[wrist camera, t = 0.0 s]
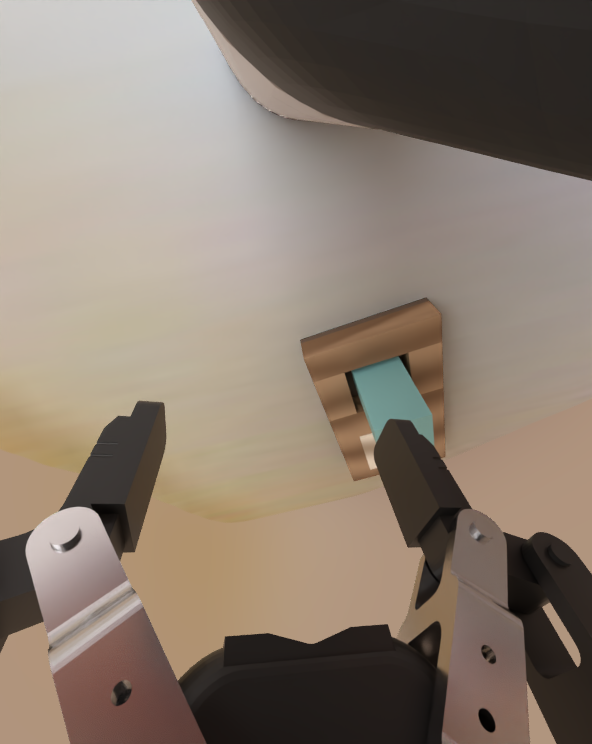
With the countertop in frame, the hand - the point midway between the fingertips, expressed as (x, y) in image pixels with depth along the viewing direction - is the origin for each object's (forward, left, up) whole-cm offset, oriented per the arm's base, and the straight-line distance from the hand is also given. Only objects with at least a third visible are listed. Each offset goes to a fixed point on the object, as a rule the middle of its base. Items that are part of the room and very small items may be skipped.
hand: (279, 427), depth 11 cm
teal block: (+9, +12, -17) cm, 23 cm away
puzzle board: (+14, +15, -17) cm, 27 cm away
